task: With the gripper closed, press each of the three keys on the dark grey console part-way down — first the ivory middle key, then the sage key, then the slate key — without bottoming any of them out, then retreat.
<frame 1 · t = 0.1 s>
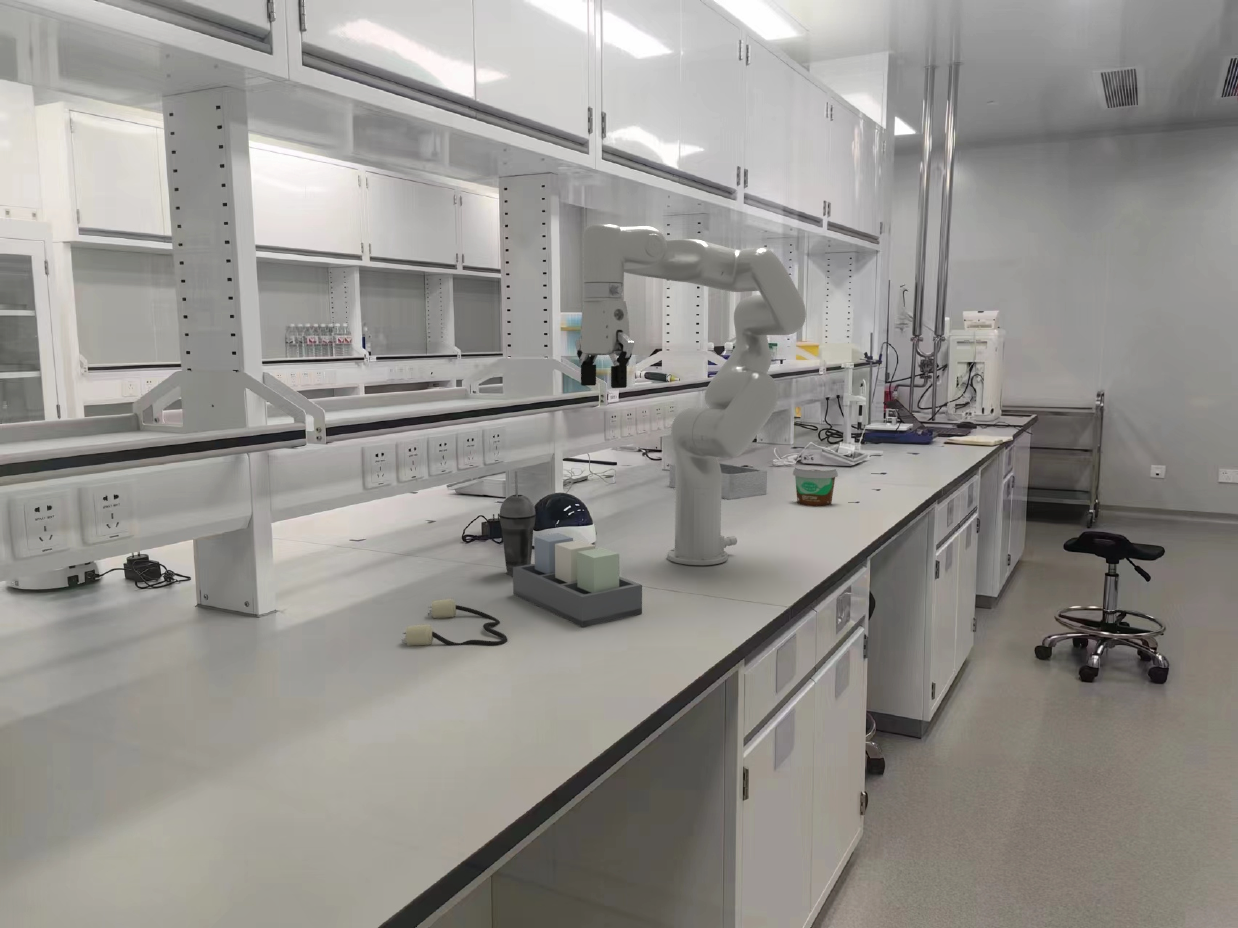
hand: (603, 386, 165), 37 cm above the worktop, tool pointing down, fingers open, 9 cm apart
cable: (461, 633, 140), on the worktop
key ivory: (575, 561, 152), point 7 cm above the worktop, slide at 0.0 cm
food container: (813, 505, 244), on the worktop
grey storage bin: (716, 490, 267), on the worktop
key sage: (598, 570, 146), point 8 cm above the worktop, slide at 0.0 cm
console: (575, 603, 153), on the worktop
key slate: (553, 553, 157), point 7 cm above the worktop, slide at 0.0 cm
beverage cup: (518, 573, 173), on the worktop
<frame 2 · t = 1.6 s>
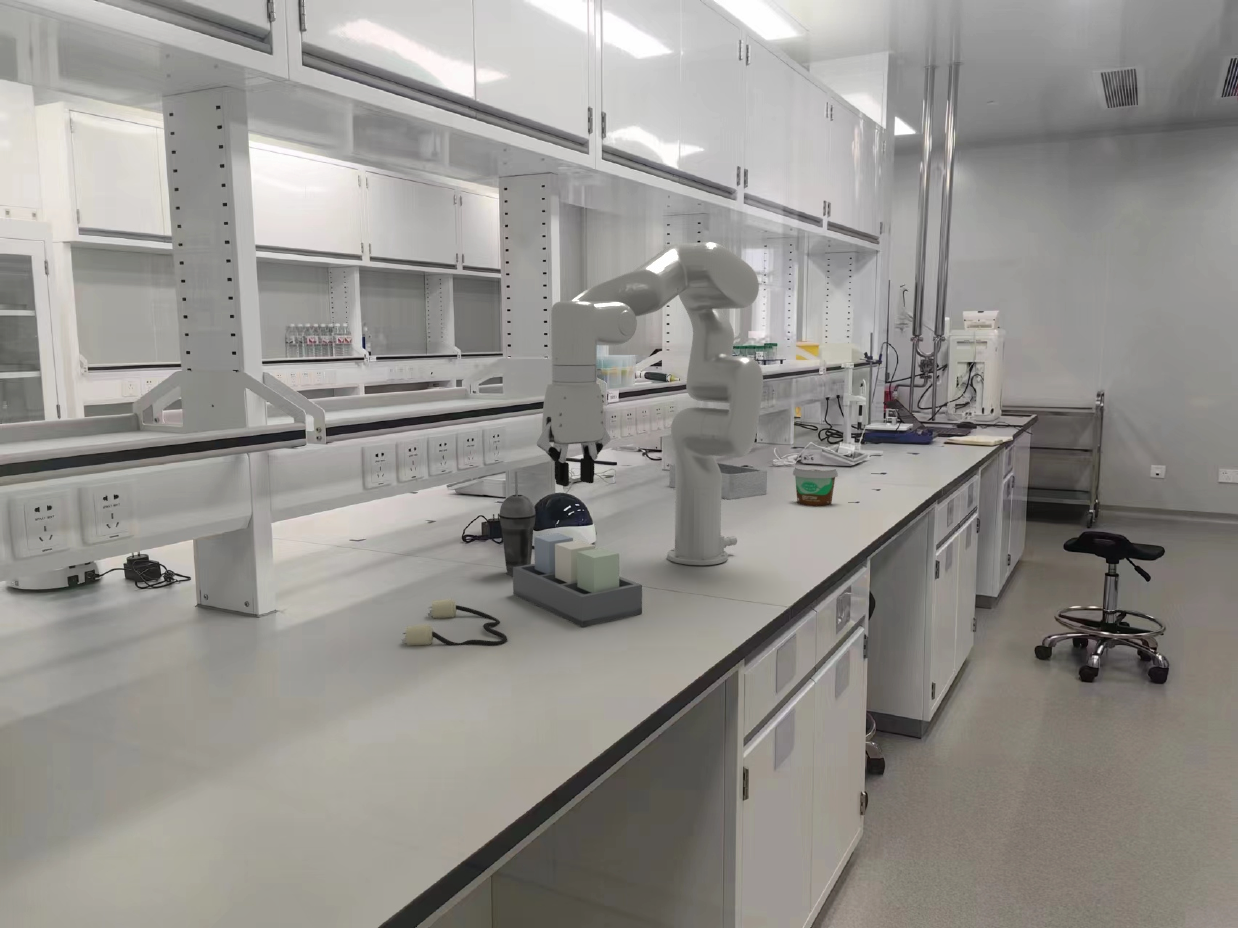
hand: (574, 482, 150), 21 cm above the worktop, tool pointing down, fingers open, 4 cm apart
nothing on the worktop moved.
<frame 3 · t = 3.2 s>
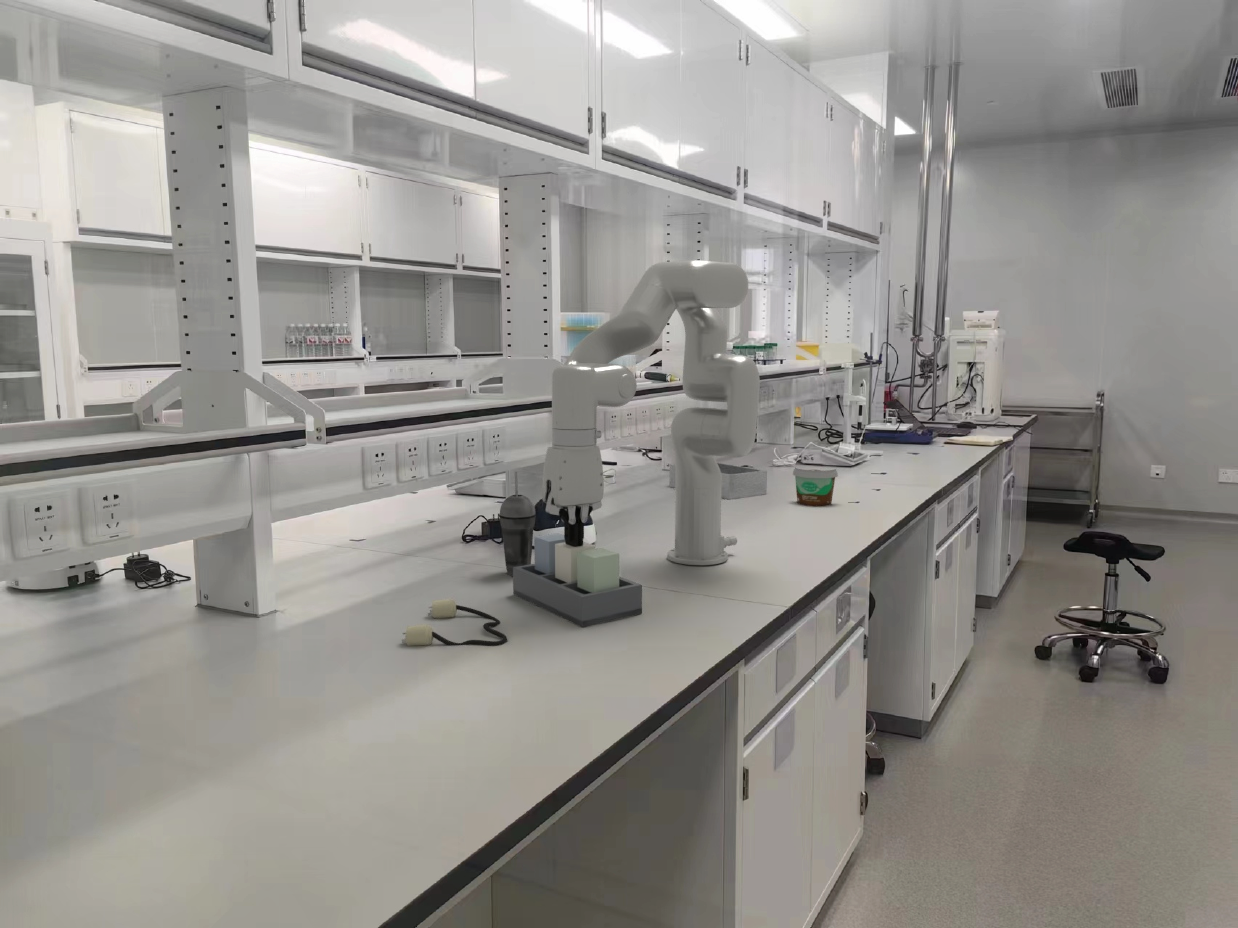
hand: (574, 544, 151), 11 cm above the worktop, tool pointing down, fingers closed
key ivory: (575, 561, 152), point 7 cm above the worktop, slide at 0.0 cm, touching gripper
everything else where it was.
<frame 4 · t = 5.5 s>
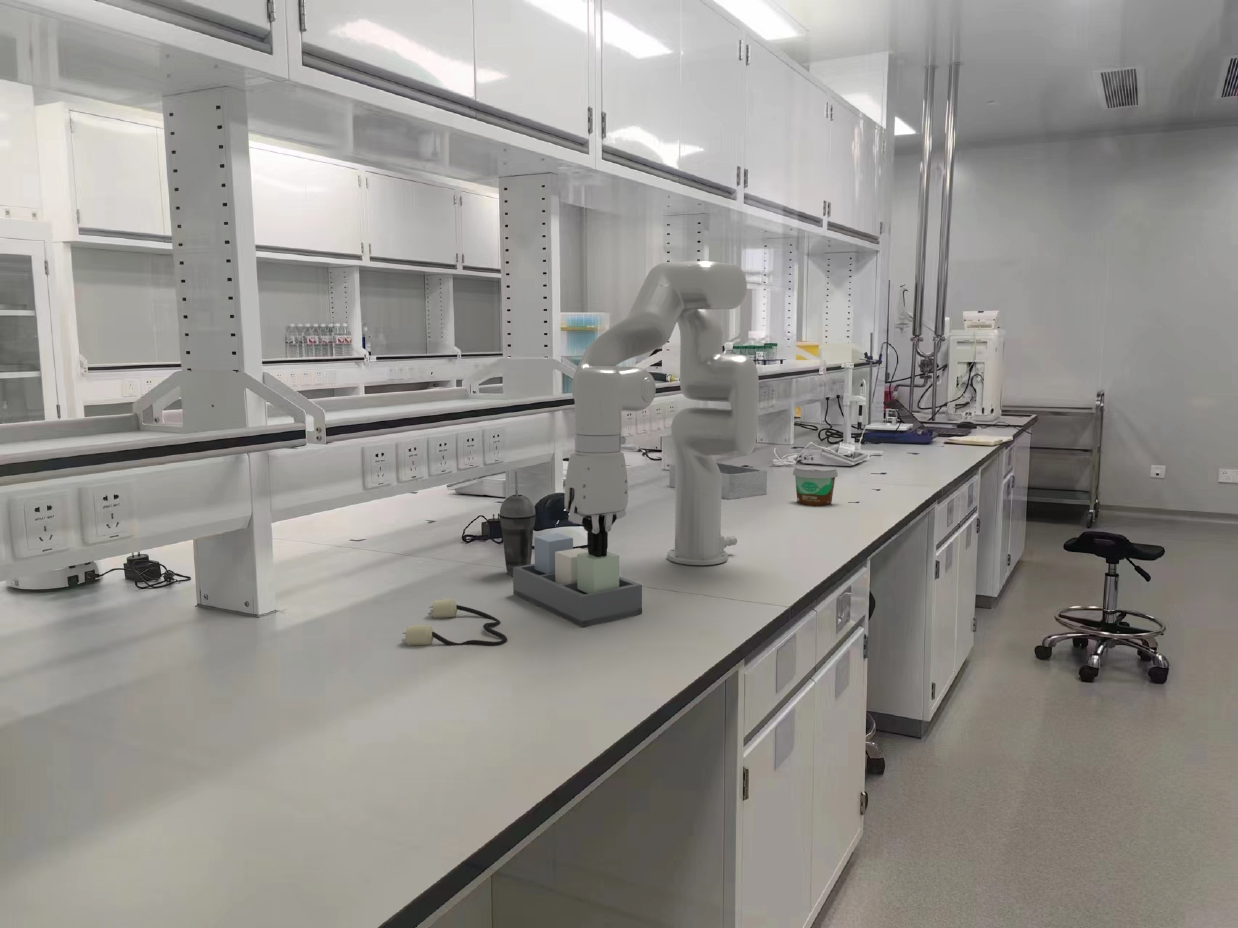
hand: (597, 554, 146), 10 cm above the worktop, tool pointing down, fingers closed
key ivory: (575, 569, 152), point 6 cm above the worktop, slide at 1.4 cm
key sage: (598, 572, 146), point 7 cm above the worktop, slide at 0.4 cm, touching gripper
everything else where it was.
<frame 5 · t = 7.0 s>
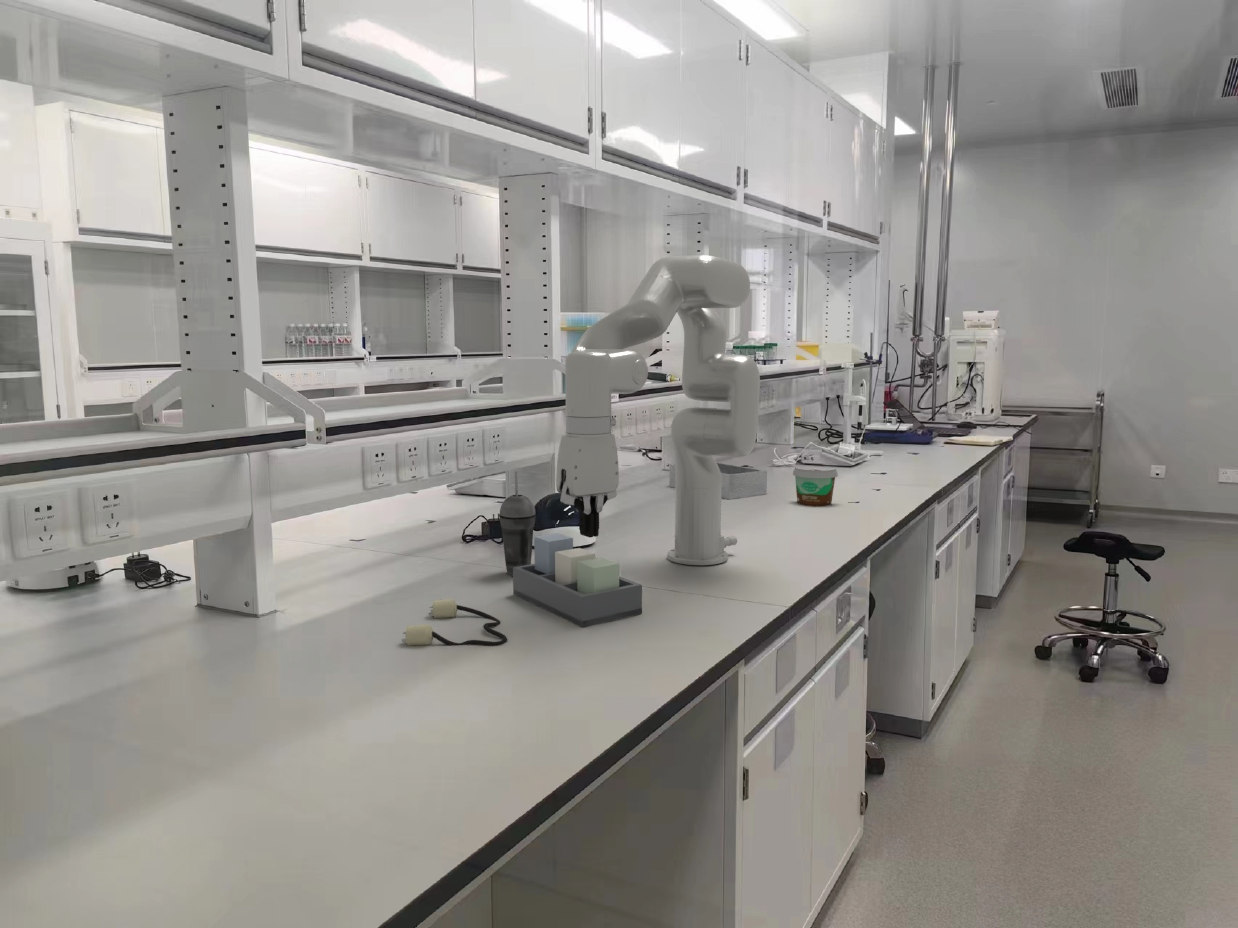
hand: (589, 535, 148), 13 cm above the worktop, tool pointing down, fingers closed
key sage: (598, 580, 146), point 6 cm above the worktop, slide at 1.7 cm
everything else where it was.
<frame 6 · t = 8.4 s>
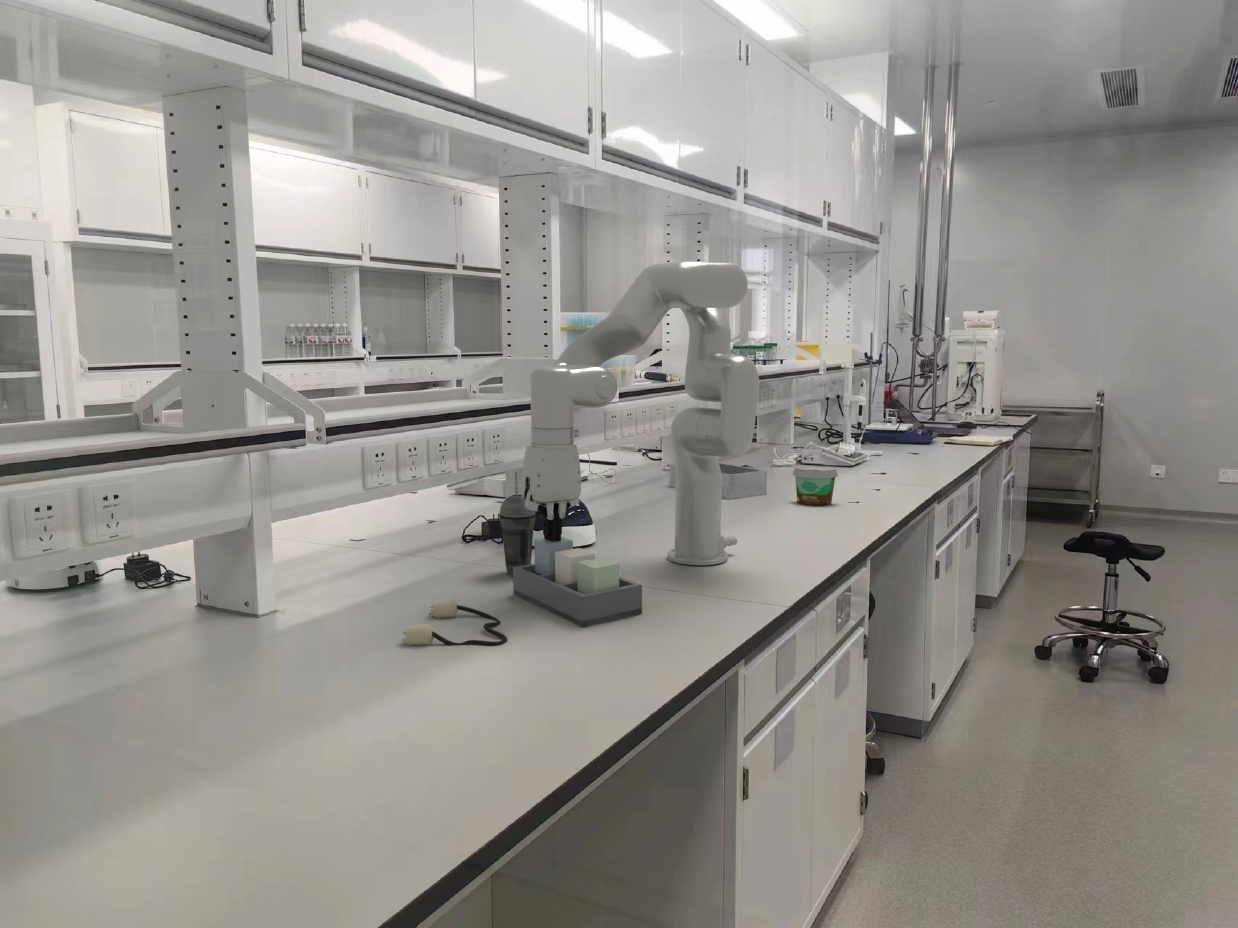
hand: (552, 539, 157), 10 cm above the worktop, tool pointing down, fingers closed
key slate: (553, 556, 157), point 7 cm above the worktop, slide at 0.5 cm, touching gripper
everything else where it was.
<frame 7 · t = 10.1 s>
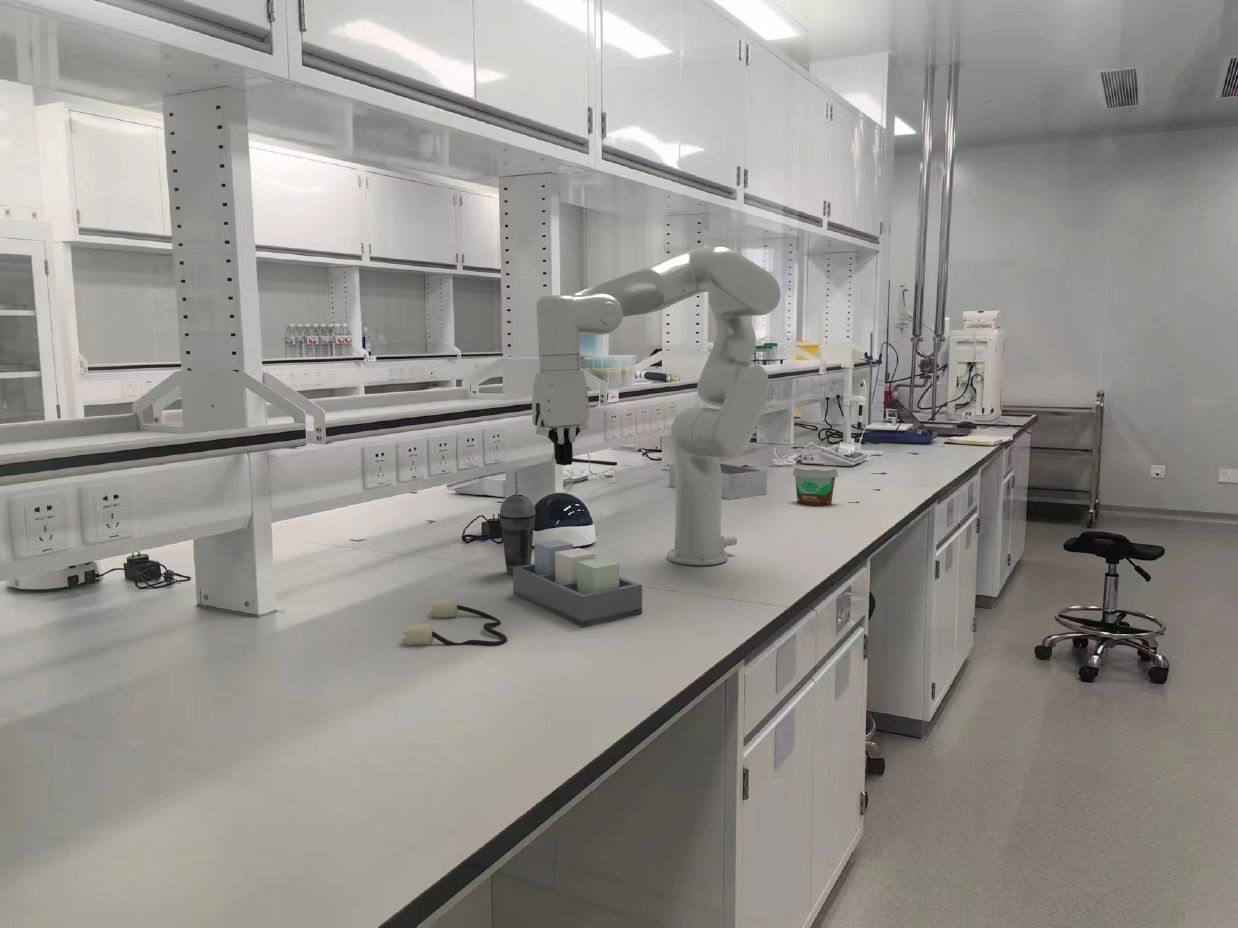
hand: (563, 464, 163), 23 cm above the worktop, tool pointing down, fingers closed
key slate: (553, 559, 158), point 6 cm above the worktop, slide at 1.1 cm
everything else where it was.
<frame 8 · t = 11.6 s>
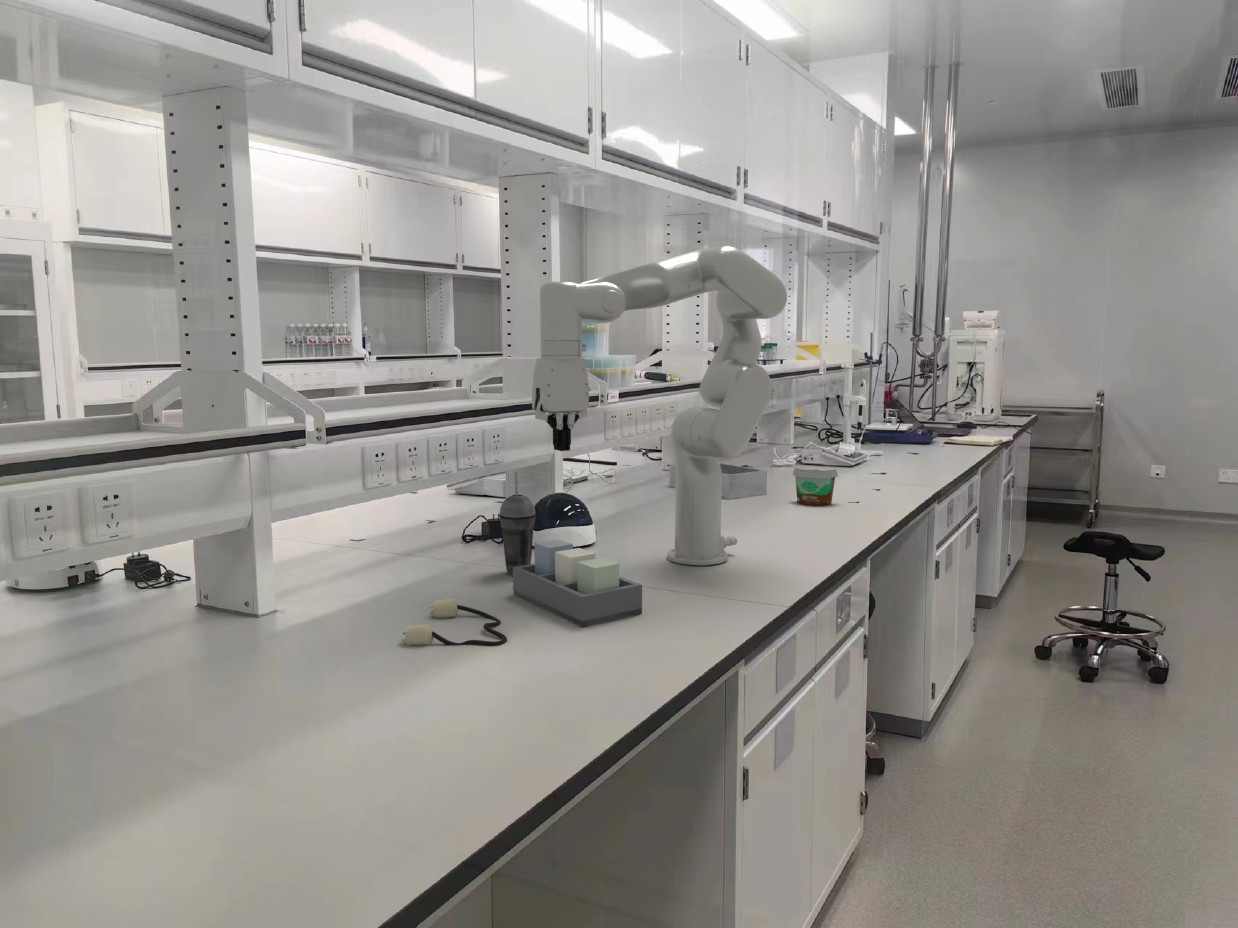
hand: (561, 449, 164), 25 cm above the worktop, tool pointing down, fingers closed
nothing on the worktop moved.
at the end: key ivory slide at 1.4 cm; key sage slide at 1.7 cm; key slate slide at 1.1 cm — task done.
